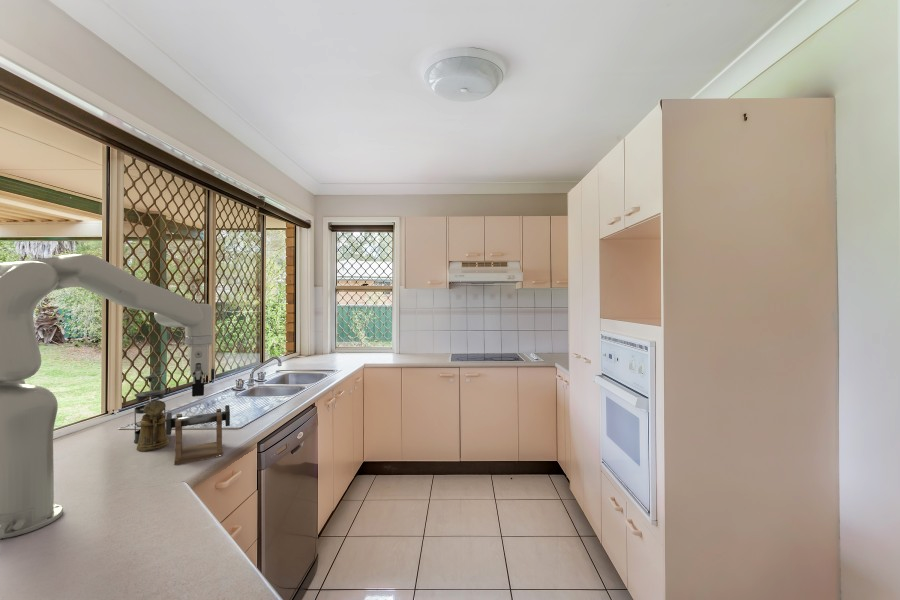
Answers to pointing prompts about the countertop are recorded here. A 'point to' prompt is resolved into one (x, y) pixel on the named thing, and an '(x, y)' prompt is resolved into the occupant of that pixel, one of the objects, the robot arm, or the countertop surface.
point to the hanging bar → (197, 419)
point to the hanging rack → (197, 450)
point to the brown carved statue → (153, 427)
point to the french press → (140, 398)
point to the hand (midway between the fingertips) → (198, 392)
